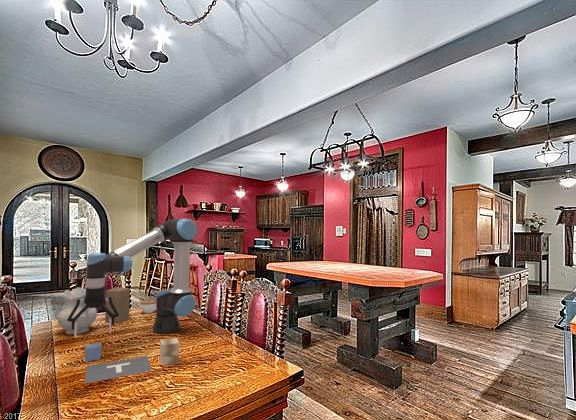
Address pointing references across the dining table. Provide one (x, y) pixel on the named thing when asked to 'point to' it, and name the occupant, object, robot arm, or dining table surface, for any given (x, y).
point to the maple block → (169, 351)
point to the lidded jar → (148, 306)
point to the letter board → (117, 369)
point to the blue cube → (93, 352)
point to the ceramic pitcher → (76, 312)
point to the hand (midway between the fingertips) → (93, 334)
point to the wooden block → (118, 303)
